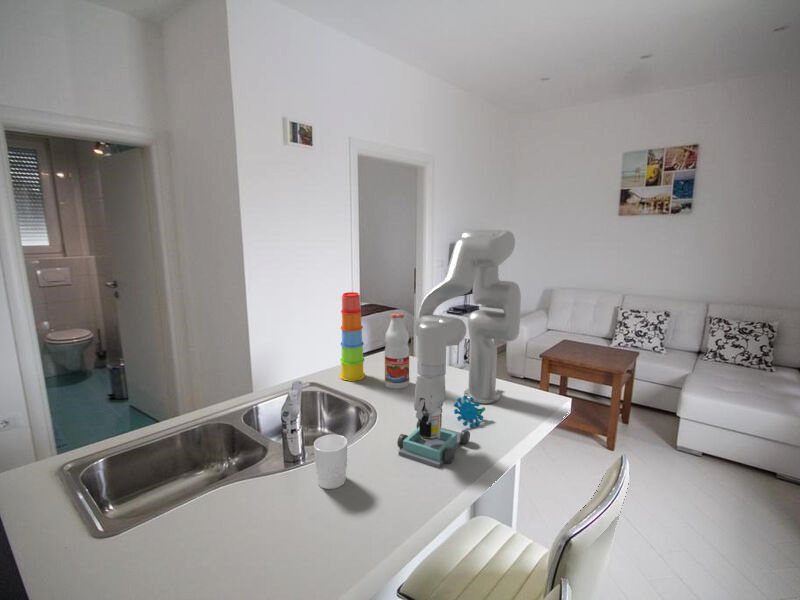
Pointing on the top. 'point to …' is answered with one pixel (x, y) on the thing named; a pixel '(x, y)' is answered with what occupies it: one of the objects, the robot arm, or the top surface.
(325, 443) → the white cup
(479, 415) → the gear
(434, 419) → the supplement bottle
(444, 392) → the robot arm
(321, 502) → the top surface
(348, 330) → the stacking cups
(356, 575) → the top surface
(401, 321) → the fruit juice
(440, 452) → the chassis
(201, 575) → the top surface
